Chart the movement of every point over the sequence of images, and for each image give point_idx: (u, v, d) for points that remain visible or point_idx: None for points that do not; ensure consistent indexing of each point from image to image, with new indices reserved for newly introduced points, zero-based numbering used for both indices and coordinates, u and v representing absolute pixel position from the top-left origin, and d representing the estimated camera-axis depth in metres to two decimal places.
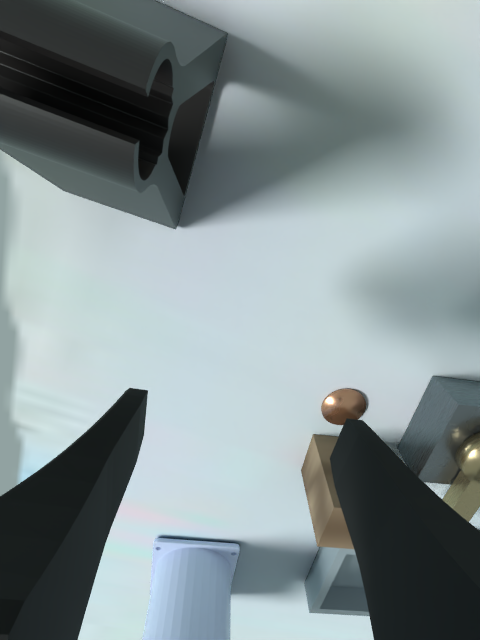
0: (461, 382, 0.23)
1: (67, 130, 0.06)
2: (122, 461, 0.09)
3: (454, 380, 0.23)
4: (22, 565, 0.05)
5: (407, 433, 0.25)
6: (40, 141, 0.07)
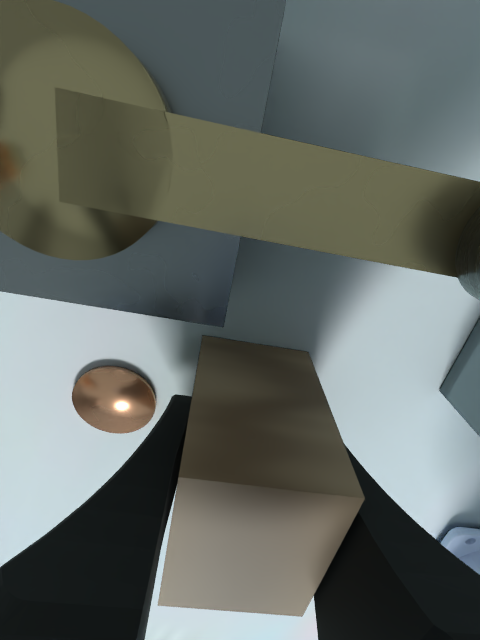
0: None
1: None
2: (177, 467, 0.09)
3: None
4: (126, 574, 0.05)
5: None
6: None
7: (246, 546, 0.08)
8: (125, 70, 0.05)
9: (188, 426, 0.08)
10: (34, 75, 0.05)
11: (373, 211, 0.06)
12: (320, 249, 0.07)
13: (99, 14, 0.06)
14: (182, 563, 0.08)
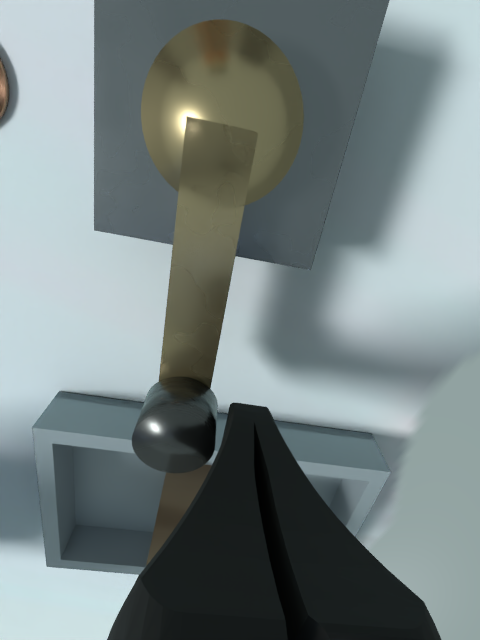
0: None
1: None
2: None
3: None
4: (255, 585, 0.05)
5: None
6: None
7: None
8: (265, 182, 0.09)
9: None
10: (264, 118, 0.08)
11: (193, 330, 0.11)
12: (168, 303, 0.10)
13: (298, 156, 0.10)
14: None
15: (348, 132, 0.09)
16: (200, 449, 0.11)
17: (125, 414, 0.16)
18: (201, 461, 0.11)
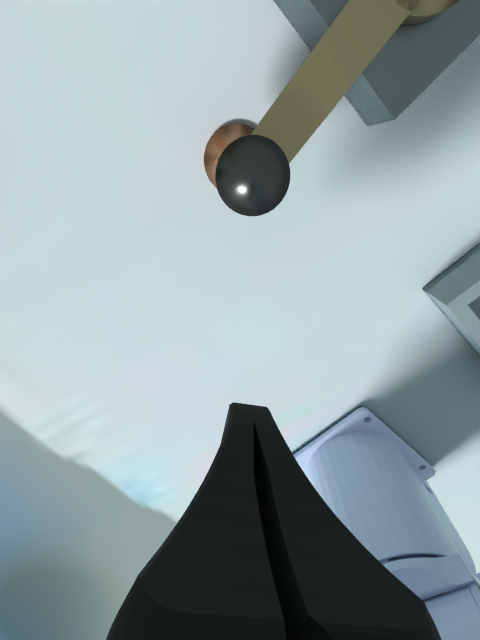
0: None
1: None
2: None
3: None
4: (254, 585, 0.05)
5: None
6: None
7: None
8: (435, 2, 0.11)
9: None
10: None
11: (306, 102, 0.12)
12: (304, 62, 0.12)
13: None
14: None
15: None
16: (269, 195, 0.12)
17: None
18: (262, 209, 0.12)
